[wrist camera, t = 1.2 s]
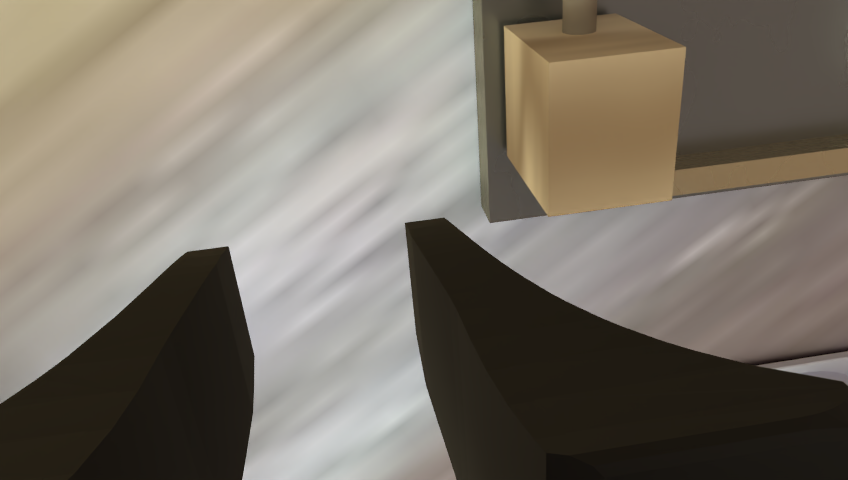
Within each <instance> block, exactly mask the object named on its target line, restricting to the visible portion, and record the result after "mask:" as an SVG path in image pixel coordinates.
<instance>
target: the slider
mask: <svg viewBox="0 0 848 480" xmlns="http://www.w3.org/2000/svg"><path fill="white" fill-rule="evenodd" d="M504 53H505V94H506V135H507V157H508V158H509V160H510V161H511V162H512V164H513V165H514V167H515V168H516V170H517V171H518V173H519V174H520V176H521V177H522V179H523V180H524V182H525V183H526V185H527V186H528V187H529V189H530V190H531V192H532V193H533V195H534V196H535V198H536V199H537V201H538V202H539V204H540V205H541V207H542V208H543V210H544V211H545V212H546V214H547V215H548V217H551V216H558V215H565V214H573V213H580V212H588V211H595V210H603V209H610V208H617V207H625V206H632V205H640V204H647V203H655V202H662V201H669V200H672V192H673V182H674V171H675V161H676V150H677V140H678V129H679V118H680V108H681V97H682V87H683V76H684V66H685V55H686V47H685V46H683V45H681V44H679V43H677V42H675V41H673V40H671V39H668V38H666V37H664V36H662V35H660V34H658V33H656V32H654V31H652V30H650V29H647V28H645V27H643V26H641V25H639V24H637V23H635V22H633V21H631V20H629V19H627V18H624V17H622V16H620V15H618V14H616V13H614V14H605V15H597V0H563V19H560V20H551V21H542V22H533V23H524V24H514V25H505V26H504Z"/></svg>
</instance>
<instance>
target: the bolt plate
mask: <svg viewBox="0 0 848 480" xmlns="http://www.w3.org/2000/svg"><path fill="white" fill-rule="evenodd" d="M614 13H616V14H618V15H620V16H622V17H624V18H627V19H629V20H631V21H633V22H635V23H637V24H639V25H641V26H643V27H645V28H647V29H650V30H652V31H654V32H656V33H658V34H660V35H662V36H664V37H666V38H668V39H671V40H673V41H675V42H677V43H679V44H681V45H683V46H685V47H686V55H685V66H684V76H683V87H682V97H681V108H680V118H679V129H678V140H677V150H676V161H675V171H674V182H673V192H672V198H680V197H687V196H695V195H702V194H709V193H717V192H724V191H732V190H739V189H747V188H754V187H762V186H769V185H776V184H784V183H791V182H799V181H806V180H814V179H821V178H829V177H836V176H843V175H848V0H597V15H605V14H614ZM560 19H563V0H473V23H474V46H475V68H476V91H477V114H478V136H479V159H480V182H481V205H482V208H483V210H484V212H485V214H486V216H487V218H488V220H489V222H490V223H493V222H501V221H508V220H516V219H523V218H531V217H538V216H546V215H547V214H546V212H545V211H544V210H543V208H542V207H541V205H540V204H539V202H538V201H537V199H536V198H535V196H534V195H533V193H532V192H531V190H530V189H529V187H528V186H527V185H526V183H525V182H524V180H523V179H522V177H521V176H520V174H519V173H518V171H517V170H516V168H515V167H514V165H513V164H512V162H511V161H510V160H509V158H508V157H507V135H506V94H505V53H504V26H505V25H514V24H524V23H533V22H542V21H551V20H560Z"/></svg>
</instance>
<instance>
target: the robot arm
mask: <svg viewBox="0 0 848 480" xmlns="http://www.w3.org/2000/svg"><path fill="white" fill-rule="evenodd" d="M405 228H406V238H407V248H408V258H409V268H410V278H411V287H412V297H413V307H414V317H415V327H416V335H417V340H418V345H419V351H420V356H421V361H422V366H423V372H424V377H425V382H426V386H427V389H428V392H429V396H430V399H431V402H432V405H433V408H434V411H435V414H436V417H437V421H438V424H439V427H440V430H441V433H442V436H443V439H444V442H445V445H446V448H447V451H448V454H449V457H450V460H451V463H452V467H453V470H454V473H455V476H456V479H457V480H848V351H846V352H839V353H833V354H826V355H820V356H814V357H807V358H801V359H795V360H788V361H782V362H776V363H769V364H763V365H756V366H754V365H750V364H745V363H741V362H737V361H733V360H729V359H725V358H721V357H717V356H713V355H709V354H705V353H701V352H697V351H694V350H690V349H687V348H684V347H680V346H677V345H674V344H670V343H667V342H664V341H661V340H658V339H655V338H652V337H650V336H647V335H644V334H641V333H638V332H636V331H633V330H630V329H627V328H624V327H622V326H619V325H617V324H614V323H612V322H609V321H607V320H605V319H602V318H600V317H598V316H596V315H593V314H591V313H589V312H587V311H585V310H583V309H581V308H579V307H577V306H574V305H572V304H570V303H568V302H566V301H564V300H562V299H560V298H558V297H557V296H555V295H553V294H551V293H549V292H548V291H546V290H544V289H543V288H541V287H539V286H538V285H536V284H534V283H533V282H531V281H529V280H528V279H526V278H524V277H523V276H521V275H520V274H518V273H517V272H515V271H514V270H512V269H510V268H509V267H508V266H506V265H505V264H503V263H502V262H500V261H499V260H498V259H496V258H495V257H493V256H492V255H491V254H489V253H488V252H487V251H485V250H484V249H483V248H481V247H480V246H479V245H478V244H476V243H475V242H474V241H473V240H471V239H470V238H469V237H468V236H466V235H465V234H464V233H463V232H461V231H460V230H459V229H458V228H456V227H455V226H454V225H453V224H451V223H450V222H449V221H448V220H446V219H445V218H438V219H431V220H423V221H416V222H408V223H405ZM253 398H254V353H253V348H252V344H251V340H250V336H249V332H248V327H247V323H246V319H245V315H244V310H243V306H242V302H241V298H240V294H239V289H238V285H237V281H236V277H235V272H234V268H233V264H232V260H231V255H230V251H229V247H220V248H213V249H205V250H198V251H190V252H187V253H185V254H184V255H183V256H181V257H180V258H179V259H178V260H176V261H175V262H174V263H173V264H172V265H171V266H170V267H169V268H168V269H166V270H165V271H164V272H163V273H162V274H161V275H160V276H159V277H158V278H157V279H156V280H155V281H154V282H153V283H152V284H150V285H149V286H148V287H147V288H146V289H145V290H144V291H143V292H142V293H141V294H140V295H139V296H137V297H136V298H135V299H134V300H133V301H132V302H131V303H130V304H129V305H128V306H127V307H126V308H124V309H123V310H122V311H121V312H120V313H119V314H118V315H117V316H116V317H115V318H113V319H112V320H111V321H110V322H109V323H107V324H106V325H105V326H104V327H103V328H101V329H100V330H99V331H98V332H97V333H95V334H94V335H93V336H92V337H90V338H89V339H88V340H87V341H86V342H84V343H83V344H82V345H81V346H80V347H78V348H77V349H76V350H75V351H74V352H72V353H71V354H70V355H69V356H68V357H66V358H65V359H64V360H62V361H61V362H60V363H58V364H57V365H56V366H54V367H53V368H52V369H50V370H49V371H48V372H46V373H45V374H44V375H42V376H41V377H39V378H38V379H37V380H35V381H34V382H32V383H31V384H29V385H28V386H26V387H25V388H23V389H22V390H20V391H19V392H17V393H16V394H15V395H13V396H12V397H10V398H9V399H7V400H6V401H4V402H3V403H1V404H0V480H242V477H243V471H244V465H245V459H246V453H247V447H248V440H249V434H250V428H251V422H252V415H253Z"/></svg>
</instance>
